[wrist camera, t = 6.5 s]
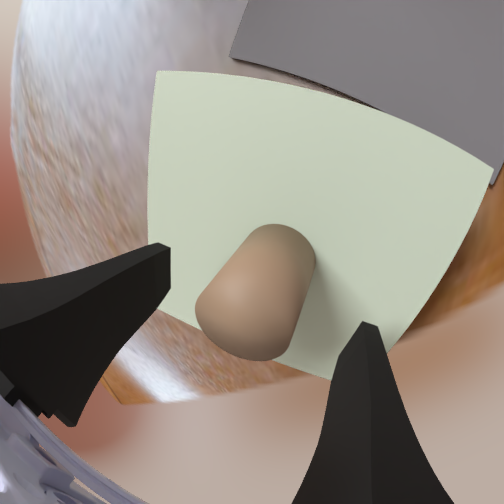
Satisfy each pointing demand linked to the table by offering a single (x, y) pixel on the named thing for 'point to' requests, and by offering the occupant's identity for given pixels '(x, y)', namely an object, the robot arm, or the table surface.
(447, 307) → the table surface
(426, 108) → the mat
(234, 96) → the cover
